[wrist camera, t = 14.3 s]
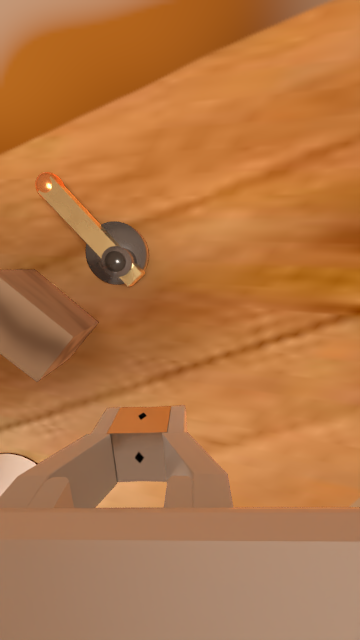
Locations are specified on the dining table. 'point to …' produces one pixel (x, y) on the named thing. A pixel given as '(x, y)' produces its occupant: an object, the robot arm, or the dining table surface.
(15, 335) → the brown box
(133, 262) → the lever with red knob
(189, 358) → the dining table surface
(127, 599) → the robot arm
